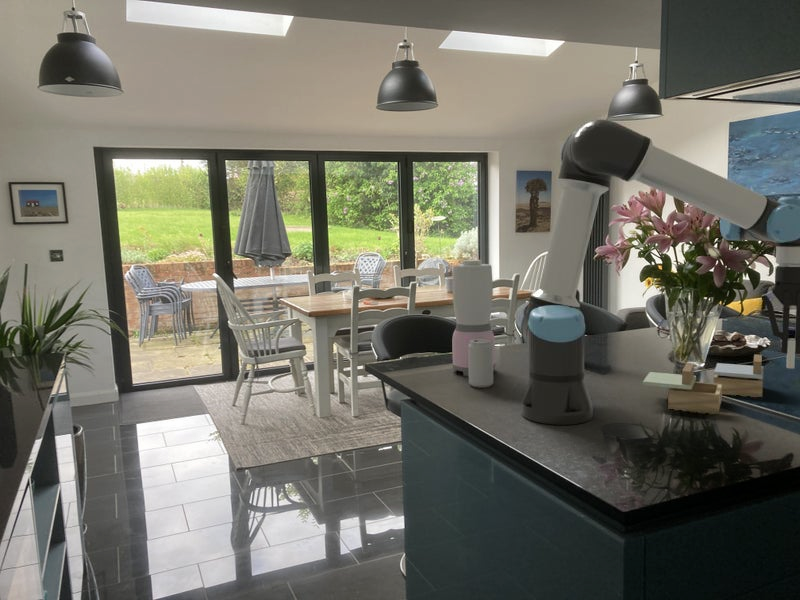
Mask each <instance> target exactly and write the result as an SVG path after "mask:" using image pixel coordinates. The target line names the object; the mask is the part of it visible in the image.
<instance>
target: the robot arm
mask: <svg viewBox="0 0 800 600" xmlns="http://www.w3.org/2000/svg"><path fill="white" fill-rule="evenodd" d="M560 155H561V157H560V160H561V164H560V170H559V174H558V179H557V182H558V183H559V185H560V187H561V194H560V199H559V203H558V207H557V211H556V216H555V219H554V223H553V227H552V233H551V236H550V240H549V244H548V249H547V253H546V257H545V262H544V267H543V269H542V274H541V279H540V282H539V286H538V287H539V288H538V289H537V290H535V291H533V292H532V293H531V294H530V297H529V301H528V306H527V310H526V311H525V313H524V314H523V315H524V316H523V317H522V319H521V324H520V331H521V336H522V339H523V341H524V342H525V344H526V346H527V347H528V350H529V354H528V356H529V358H528V359H529V361H528V362H529V364H528V365H529V368H528V369H529V376H528V377H529V379H528V384H527V386H526V390H525V393H524V395H523V398H522V402H521V415H522V417H524V418H526V419H527V420H529V421H532V422H534V423H535V422H536V423H541V424H546V425H559V426H560V425H561V426H565V425H577V424H582V423H586V422H588V421H590V420H591V419H593V410H594V409H593V404H592V401H591V398H590V394H589V391H588V388H587V386H586V382H585V332H586V323H585V317H584V314H583V312H582V311H581V309H580V310H579V307H580V308H581V304H579V303H578V301H577V299H576V297H575V296H576V292H577V290H578V287H579V283H580V279H581V274H582V271H583V267H584V262H585V259H586V253H587V250H588V247H589V243H590V238H591V235H592V230H593V227H594V222H595V221H594V220H595V217H596V215H597V210H598V205H599V202H600V201H599V200H600V197H601V195H603V194H605V193H606V192H607V191H609V189H610V186H611V182H612V177H615V178H618V179H620V180H622V181H624V182H632V181H636V182H639V183H641V184H643V185H646V186H648V187H650V188H653V189H655V190H657V191H659V192H662V193H664V194H666V195H668V196H670V197H673V198H675V199H677V200H679V201H682V202H684V203H685V204H688V205H690V206H693V207H695V208H697V209H699V210H702V211H703V212H706V213H709V214H711V215H713V216H715V217H717V218H720V220H719V230H720V234H721V236H722V238H723V239H724V240H727V241H736V242H739V241H760V242H762V241H763V242H773V243H774V242H775V244H776V245H775V248H776V249H775V263H776V264H777V265H776V267H774V268H775V270H774V284H773V287H772V288H771V291H769V292H767V293H764V294H762V295H761V300H762V302H763V303H764V304H765V307H766V310H767V314H768V318H769V321H770V326H771V331H772V334H773V336H774V337H777V338H780V339H781V353H782V354H786V369H795V364H796V363H795V361H796V360H795V359H796V355H800V196H798V195H797V196H795V195H794V196H793V195H792V196H782V197H780V198H778V200H777V201H776V200H774V199H772V198H770V197H768V196H765V195H763V194H761V193H760V192H759V193H758V192H756V191H755V190H753V189H750V188H748V187H746V186H743V185H741V184H738V183H736V182H734V181H732V180H730V179H728V178H726V177H724V176H721V175H719V174H716V173H714V172H712V171H710V170H708V169H705V168H704V167H701V166H699V165H697V164H695V163H692V162H691V161H687V160H686V159H683V158H681V157H679V156H677V155H675V154H673V153H670V152H668V151H666V150H663V149H662V148H659V147H657V146H656V145H654V144H653V141H652V139H651V138H649V137H648V136H645V135H643V134H641V133H639V132H637V131H634V130H633V129H630V128H629V127H627V126H625V125H622V124H620V123H618V122H615V121H612V120H609V119H594V120H591V121H588V122H586V123H585V124H583V125H581V127H580V128H577V129H576V130H575V131H573V132H572V133H570V135H569V136H568V137H567V139H566V140H565V142H564V144H563V146H562V150H561V154H560ZM774 297H775V298H776V299H777V300H778V301H779V303H780V304H781V305H782V325H781V330H780V329H779V326H778V322H777V316H776V314H775V309H774V305H773V302H774ZM792 306H794V307H795V313H796V314H795V327H794V328H795V330H794V331H795V333H794V338H790V337H789V331H790V330H789V328H790V310H791V309H790V307H792Z"/></svg>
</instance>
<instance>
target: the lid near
mask: <svg viewBox="0 0 800 600" xmlns="http://www.w3.org/2000/svg"><path fill="white" fill-rule="evenodd" d="M696 380H697V376H696V375H695V363H689V362H687V363H685V365H684V367H683V369H682V371H681V374H679V373H677V374H676V373H667V372H666V373H665V372H655V371H653V372H652V371H649V372H648V374H647V376H645V378H644V380H642V386H649V387H650V386H652V387H661V388H680V389H692V387H693V385H694V382H696Z"/></svg>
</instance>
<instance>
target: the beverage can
mask: <svg viewBox="0 0 800 600" xmlns="http://www.w3.org/2000/svg"><path fill="white" fill-rule="evenodd" d="M468 357H469V376H468V384H470V385H471V386H472V387H474V388H480V389H483V388H484V389H485V388H491V386H492V385H493V384H494V369H493V345H492V343H491V340H488V339H473V340H470V344H469V345H468Z"/></svg>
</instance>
